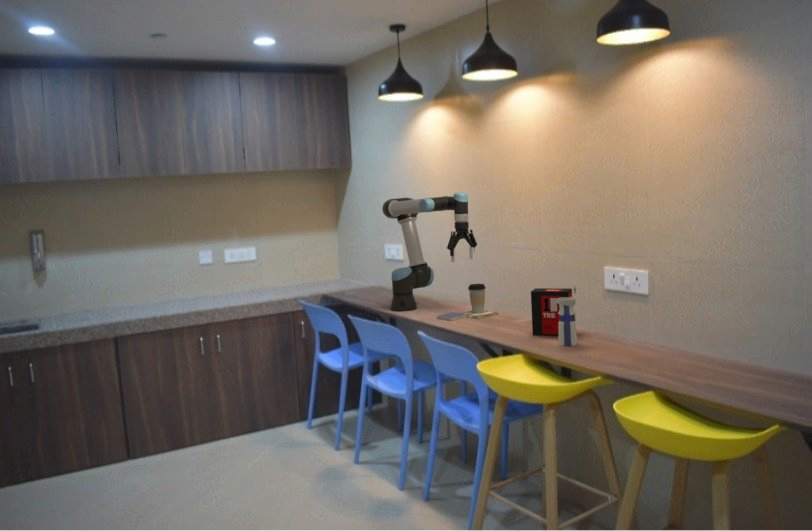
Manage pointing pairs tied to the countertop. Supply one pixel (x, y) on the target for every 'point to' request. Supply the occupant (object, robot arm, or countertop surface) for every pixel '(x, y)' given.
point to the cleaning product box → (546, 310)
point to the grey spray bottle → (567, 321)
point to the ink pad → (451, 316)
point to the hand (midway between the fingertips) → (462, 260)
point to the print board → (482, 315)
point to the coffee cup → (477, 297)
